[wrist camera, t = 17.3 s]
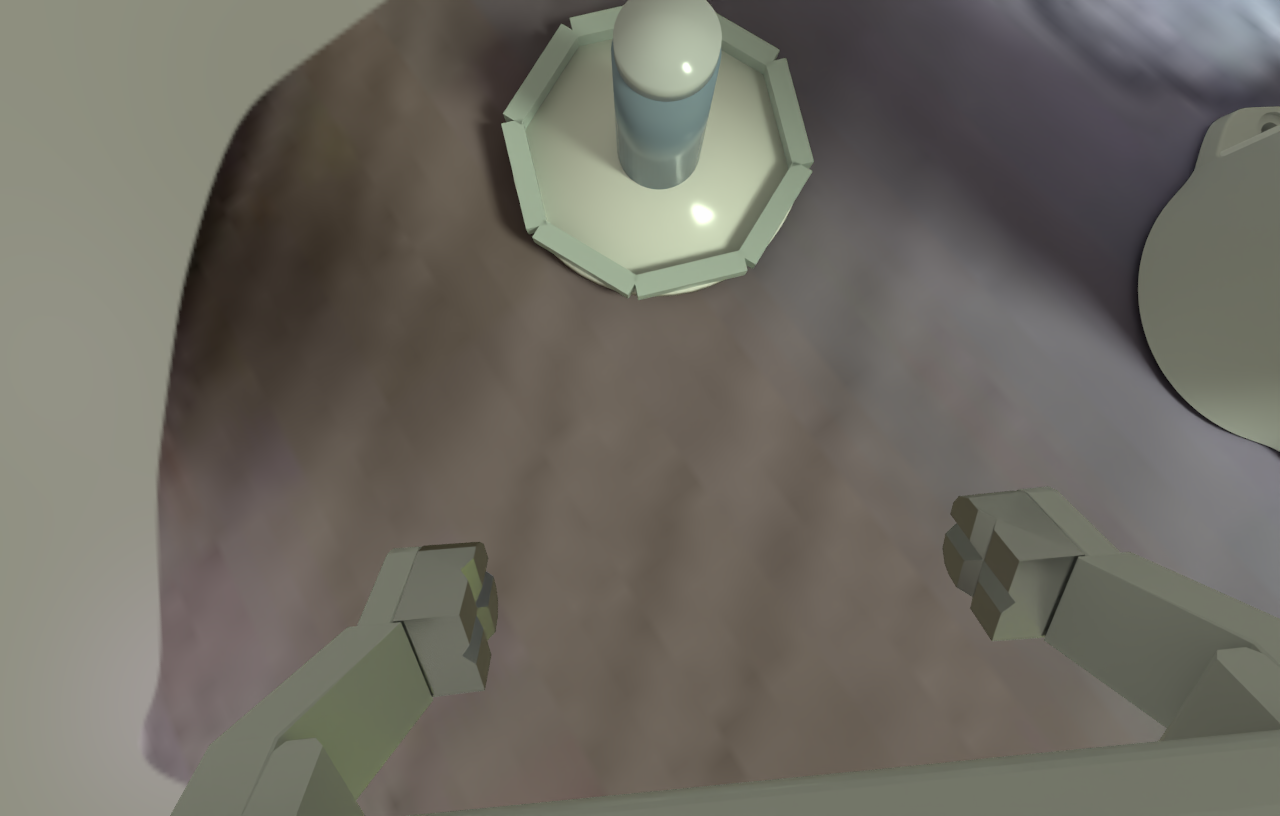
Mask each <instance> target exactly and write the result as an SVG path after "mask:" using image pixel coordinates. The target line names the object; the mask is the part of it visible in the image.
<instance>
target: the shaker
mask: <svg viewBox="0 0 1280 816" xmlns="http://www.w3.org/2000/svg"><path fill="white" fill-rule="evenodd" d="M721 42H722V31H721V26H720V22H719V19H718V17H717V15H716V13H715V11H714V9H713V8H712V6H711V5H710V4H709V3H708V2H707V1H706V0H628V1H627V2H626V3H625V4H624V6H623V7H622V8H621V10H620V12H619V14H618V16H617V18H616V21H615V24H614V29H613V40H612V45H611V60H612V76H613V92H614V108H615V123H616V139H617V154H618V159H619V162H620V165H621V167H622V169H623V170H624V172H625V173H626V174H627V176H628V177H629V178H630V179H632V180H633V181H634V182H636V183H637V184H639V185H641V186H643V187H646V188H650V189H658V190H659V189H668V188H672V187H675V186H677V185H679V184H681V183H682V182H684V181H685V180H686V179H688V178H689V177H690V175H691V174H692V173H693V172H694V170H695V168H696V166H697V164H698V162H699V158H700V153H701V149H702V144H703V140H704V135H705V130H706V126H707V121H708V117H709V112H710V108H711V103H712V98H713V94H714V89H715V85H716V80H717V76H718V71H719V66H720V62H721V53H722V52H721Z"/></svg>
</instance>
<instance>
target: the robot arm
mask: <svg viewBox="0 0 1280 816" xmlns="http://www.w3.org/2000/svg"><path fill="white" fill-rule="evenodd" d="M1138 301H1139V309H1140V315H1141V321H1142V325H1143V329H1144V332H1145V335H1146V338H1147V341H1148V344H1149V346H1150V349H1151V351H1152V353H1153V355H1154V357H1155V359H1156V361H1157V363H1158V365H1159V367H1160V368H1161V370H1162V372H1163V373H1164V375H1165V376H1166V378H1167V379H1168V380H1169V382H1170V383H1171V384H1172V386H1173V387H1174V388H1175V389H1176V391H1177V392H1178V393H1179V394H1180V395H1181V396H1182V397H1183V398H1184V399H1185V400H1186V401H1187V402H1188V403H1189V404H1190V405H1191V406H1192V407H1193V408H1195V409H1196V410H1197V411H1198V412H1199V413H1201V414H1202V415H1203V416H1205V417H1206V418H1208V419H1209V420H1210V421H1212V422H1214V423H1215V424H1217V425H1219V426H1220V427H1222V428H1224V429H1226V430H1228V431H1230V432H1232V433H1234V434H1237V435H1239V436H1241V437H1244V438H1247V439H1250V440H1253V441H1255V442H1258V443H1261V444H1264V445H1266V446H1269V447H1271V448H1273V449H1275V450H1277V451H1279V452H1280V106H1276V107H1250V108H1243V109H1239V110H1237V111H1234V112H1232V113H1230V114H1228V115H1225V116H1223V117H1221V118H1219V119H1217V120H1216V121H1215V122H1213V124H1212V125H1211V126H1210V128H1209V129H1208V131H1207V133H1206V135H1205V137H1204V140H1203V143H1202V146H1201V149H1200V152H1199V155H1198V159H1197V163H1196V166H1195V170H1194V171H1193V173H1192V175H1191V176H1190V178H1189V179H1188V180H1187V182H1186V183H1185V184H1184V185H1183V186H1182V188H1181V189H1180V190H1179V191H1178V192H1177V193H1176V194H1175V195H1174V197H1173V198H1172V199H1171V200H1170V201H1169V202H1168V204H1167V205H1166V206H1165V207H1164V209H1163V210H1162V212H1161V213H1160V215H1159V216H1158V218H1157V220H1156V221H1155V223H1154V225H1153V227H1152V229H1151V231H1150V233H1149V236H1148V238H1147V241H1146V244H1145V247H1144V250H1143V254H1142V258H1141V263H1140V268H1139V278H1138ZM951 516H952V517H953V518H954V520H955V521H956V524H955V525H954V526H953V527H952V528H951V529H950V530H949V531H948V532H947V533H946V534H945V539H944V544H943V555H944V563H945V566H946V569H947V571H948V574H949V576H950V578H951V579H952V581H953V582H954V584H955V586H956V587H957V588H958V589H960V590H962V591H963V592H965V593H967V594H968V595H970V596H972V602H971V607H970V609H971V610H972V612H973V613H974V615H975V616H976V618H977V619H978V621H979V622H980V624H981V626H982V627H983V629H984V630H985V632H986V633H987V635H988V636H989V638H990V639H991V641H1003V640H1017V639H1031V638H1045V639H1044V641H1046V642H1047V643H1049V644H1050V645H1051V646H1053V647H1054V648H1056V649H1057V650H1058V651H1060V652H1061V653H1063V654H1064V655H1065V656H1067V657H1068V658H1069V659H1071V660H1072V661H1074V662H1075V663H1076V664H1078V665H1079V666H1081V667H1082V668H1083V669H1085V670H1086V671H1088V672H1089V673H1090V674H1092V675H1093V676H1095V677H1096V678H1097V679H1099V680H1100V681H1102V682H1103V683H1104V684H1106V685H1107V686H1109V687H1110V688H1111V689H1113V690H1114V691H1116V692H1117V693H1118V694H1120V695H1121V696H1122V697H1124V698H1125V699H1127V700H1128V701H1129V702H1131V703H1132V704H1134V705H1135V706H1136V707H1138V708H1139V709H1141V710H1142V711H1143V712H1145V713H1146V714H1148V715H1149V716H1150V717H1152V718H1153V719H1155V720H1156V721H1157V722H1159V723H1160V724H1162V725H1163V726H1164V727H1166V728H1167V729H1166V731H1165V733H1164V734H1163V736H1162V737H1161V739H1160V740H1159V741H1157V742H1147V743H1137V744H1127V745H1116V746H1106V747H1096V748H1086V749H1076V750H1066V751H1056V752H1046V753H1036V754H1026V755H1016V756H1006V757H996V758H986V759H976V760H965V761H955V762H945V763H935V764H925V765H915V766H905V767H895V768H885V769H875V770H865V771H855V772H845V773H835V774H825V775H815V776H805V777H795V778H784V779H774V780H764V781H754V782H744V783H734V784H724V785H714V786H703V787H693V788H683V789H673V790H663V791H653V792H643V793H632V794H622V795H612V796H602V797H592V798H582V799H572V800H562V801H551V802H541V803H531V804H521V805H511V806H501V807H491V808H481V809H470V810H460V811H450V812H440V813H430V814H420V815H410V816H1280V619H1279V618H1276V617H1274V616H1272V615H1270V614H1267V613H1265V612H1263V611H1261V610H1258V609H1256V608H1254V607H1252V606H1250V605H1247V604H1245V603H1243V602H1241V601H1238V600H1236V599H1234V598H1232V597H1229V596H1227V595H1225V594H1223V593H1221V592H1218V591H1216V590H1214V589H1212V588H1209V587H1207V586H1205V585H1203V584H1200V583H1198V582H1196V581H1194V580H1191V579H1189V578H1187V577H1185V576H1183V575H1180V574H1178V573H1176V572H1174V571H1171V570H1169V569H1167V568H1165V567H1162V566H1160V565H1158V564H1156V563H1154V562H1151V561H1149V560H1147V559H1145V558H1142V557H1140V556H1138V555H1136V554H1133V553H1131V552H1125V553H1120V552H1119V551H1118V550H1117V549H1116V548H1115V547H1114V546H1113V545H1112V544H1111V543H1110V542H1109V541H1108V540H1107V539H1106V538H1105V537H1104V536H1103V535H1102V534H1101V533H1100V532H1099V531H1098V530H1097V529H1096V528H1095V527H1094V526H1093V525H1092V524H1091V523H1090V522H1089V521H1088V520H1087V519H1086V518H1085V517H1084V516H1082V515H1081V514H1080V513H1079V512H1078V511H1077V510H1076V509H1075V508H1074V507H1073V506H1072V505H1071V504H1070V503H1069V502H1068V501H1067V500H1066V499H1065V498H1064V497H1063V496H1062V495H1061V494H1060V493H1059V492H1058V491H1057V490H1055V489H1053V488H1050V487H1048V486H1046V487H1037V488H1028V489H1019V490H1017V491H1004V492H994V493H984V494H975V495H965V496H958V498H957V499H956V500H955V501H954V503H953V506H952V510H951ZM487 562H488V556H487V553H486V550H485V546H484V544H483V543H481V542H470V543H456V544H442V545H428V546H422V547H408V548H393V549H392V550H391V551H390V552H389V553H388V554H387V555H386V558H385V560H384V563H383V565H382V567H381V570H380V572H379V574H378V577H377V579H376V582H375V584H374V586H373V589H372V591H371V594H370V596H369V598H368V601H367V603H366V605H365V608H364V610H363V613H362V615H361V617H360V620H359V622H358V625H357V626H354V627H347V628H346V629H345V630H344V631H343V632H342V633H340V634H339V635H338V636H337V637H336V638H335V639H333V640H332V641H331V642H330V643H329V644H328V645H326V646H325V647H324V648H323V649H322V650H320V651H319V652H318V653H317V654H316V655H315V656H313V657H312V658H311V659H310V660H309V661H308V662H306V663H305V664H304V665H303V666H302V667H301V668H299V669H298V670H297V671H296V672H295V673H294V674H292V675H291V676H290V677H289V678H288V679H287V680H285V681H284V682H283V683H282V684H281V685H280V686H278V687H277V688H276V689H275V690H274V691H272V692H271V693H270V694H269V695H268V696H267V697H265V698H264V699H263V700H262V701H261V702H260V703H258V704H257V705H256V706H255V707H254V708H253V709H251V710H250V711H249V712H248V713H247V714H246V715H244V716H243V717H242V718H241V719H240V720H239V721H237V722H236V723H235V724H234V725H233V726H231V727H230V728H229V729H228V730H227V731H226V732H224V733H223V734H222V735H221V736H220V737H219V738H217V739H216V740H215V741H214V742H213V743H212V744H210V745H209V747H208V749H207V751H206V752H205V754H204V756H203V758H202V760H201V761H200V763H199V765H198V767H197V769H196V770H195V772H194V774H193V776H192V778H191V779H190V781H189V783H188V785H187V787H186V788H185V790H184V792H183V794H182V795H181V797H180V799H179V801H178V803H177V804H176V806H175V808H174V810H173V812H172V813H171V815H170V816H365V815H364V813H363V812H362V810H361V808H360V807H359V805H358V803H357V802H356V800H357V799H358V797H359V796H360V795H361V793H362V792H363V791H364V790H365V788H366V787H367V786H368V784H369V783H370V782H371V780H372V779H373V778H374V776H375V775H376V774H377V773H378V771H379V770H380V769H381V767H382V766H383V765H384V763H385V762H386V761H387V760H388V758H389V757H390V756H391V754H392V753H393V752H394V750H395V749H396V748H397V747H398V745H399V744H400V743H401V741H402V740H403V739H404V737H405V736H406V735H407V734H408V732H409V731H410V730H411V728H412V727H413V726H414V724H415V723H416V722H417V720H418V719H419V718H420V717H421V715H422V714H423V713H424V711H425V710H426V709H427V707H428V706H429V705H430V704H431V702H432V701H433V698H432V697H437V696H445V695H453V694H461V693H469V692H477V691H484V690H485V687H486V682H487V676H488V671H489V665H490V660H491V652H490V648H489V645H488V642H487V641H488V639H489V638H490V637H491V636H492V635H493V634H494V633H495V632H496V625H497V619H498V596H497V588H496V584H495V580H494V577H493V576H492V575H490V574H489V573H488V572H486V567H487Z"/></svg>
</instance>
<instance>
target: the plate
mask: <svg viewBox="0 0 1280 816" xmlns="http://www.w3.org/2000/svg"><path fill="white" fill-rule="evenodd" d="M622 7H623V6H619V7H615V8H611V9H606V10H602V11H597V12H593V13H589V14H584V15H580V16H576V17H571V18H570V24H571V29H570V28H568V27H567V26H565V25H563V24H561V25H560V26H559V28H558V30H557V31H556V33H555V34H554V36H553V37H552V39H551V40H550V42H549V43H548V45H547V47H546V48H545V50H544V51H543V53H542V54H541V56H540V57H539V59H538V60H537V62H536V64H535V65H534V67H533V68H532V70H531V71H530V73H529V74H528V76H527V77H526V79H525V80H524V82H523V84H522V85H521V87H520V88H519V90H518V91H517V93H516V94H515V96H514V97H513V99H512V101H511V102H510V104H509V105H508V107H507V108H506V110H505V111H504V113H503V115H504V118H505V120H506V123H501V125H502V129H503V133H504V138H505V142H506V146H507V150H508V155H509V159H510V163H511V167H512V172H513V177H514V183H515V186H516V190H517V193H518V197H519V201H520V206H521V210H522V214H523V218H524V223H525V227H526V230H527V232H528V234H533V233H534V235H533V237H532V238H533V240H534V242H535V243H536V244H538V245H540V246H541V247H543V248H545V249H546V250H548V251H550V252H551V253H553V254H554V255H555V256H556V257H558V258H559V259H560V260H561V261H562V262H563V263H564V264H565V265H566V266H568V267H569V268H571V269H572V270H574V271H575V272H576V273H578V274H579V275H581V276H583V277H585V278H586V279H588V280H590V281H592V282H594V283H596V284H598V285H601V286H604V287H606V288H609V289H612V290H615V291H616V292H618V293H620V294H621V295H623V296H624V297H626V298H629V297H630V295H631V294H632V295H637V298H638V300H641V299H646V298H650V297H660V296H675V295H681V294H687V293H692V292H695V291H698V290H702V289H705V288H708V287H711V286H713V285H715V284H717V283H719V282H722V281H724V280H726V279H730V278H734V277H738V276H742V275H745V274H746V272H747V271H748V270H747V266H749V267H750V268H752V269H753V268H754V267H755V265H756V263H757V262H758V260H759V259H760V257H761V255H762V254H763V252H764V250H765V249H766V247H767V246H768V245H769V243H770V242H771V240H772V239H773V238H774V236H775V235H776V233H777V232H778V230H779V229H780V228H781V226H782V224H783V223H784V221H785V219H786V217H787V215H788V213H789V211H790V209H791V207H792V204H793V203H794V201H795V199H796V198H797V196H798V194H799V193H800V191H801V189H802V188H803V186H804V184H805V183H806V181H807V180H808V178H809V176H810V175H811V173H812V171H811V170H809V168H810V167H811V165H812V164H813V162H814V160H813V156H812V153H811V149H810V145H809V141H808V138H807V134H806V130H805V127H804V123H803V119H802V115H801V112H800V108H799V104H798V101H797V97H796V93H795V89H794V86H793V82H792V78H791V75H790V71H789V67H788V63H787V60H786V58H783V59H778V60H776V59H777V57H778V54H779V51H780V50H779V49H777V48H776V47H774V46H772V45H771V44H769V43H767V42H765V41H764V40H762V39H760V38H759V37H757V36H755V35H753V34H752V33H750V32H748V31H747V30H745V29H743V28H741V27H740V26H738V25H736V24H735V23H733V22H731V21H729V20H728V19H726V18H724V17H723V16H721V15H719V14H717V13H716V12H715V13H716V15H717V17H718V19H719V22H720V26H721V31H722V42H721V52H722V53H721V62H720V66H719V71H718V76H717V80H716V85H715V89H714V94H713V98H712V103H711V108H710V112H709V117H708V121H707V126H706V130H705V135H704V140H703V144H702V149H701V153H700V158H699V162H698V164H697V166H696V168H695V170H694V172H693V173H692V174H691V175H690V177H689V178H688V179H686V180H685V181H684V182H682V183H681V184H679V185H677V186H675V187H672V188H668V189H659V190H658V189H650V188H646V187H643V186H641V185H639V184H637V183H636V182H634V181H633V180H632V179H630V178H629V177H628V176H627V174H626V173H625V172H624V170H623V169H622V167H621V165H620V162H619V159H618V154H617V139H616V123H615V108H614V92H613V76H612V60H611V45H612V40H613V29H614V24H615V21H616V18H617V16H618V14H619V12H620V10H621V8H622Z"/></svg>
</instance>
